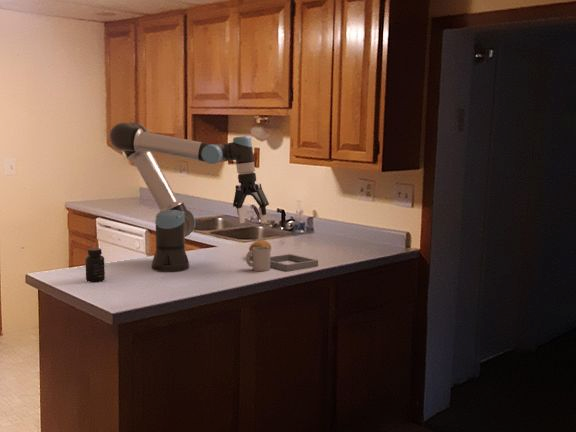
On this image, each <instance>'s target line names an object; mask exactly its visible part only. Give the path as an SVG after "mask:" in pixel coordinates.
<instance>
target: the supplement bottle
mask: <svg viewBox="0 0 576 432" xmlns="http://www.w3.org/2000/svg"><path fill="white" fill-rule="evenodd" d="M102 253H103V252H102V248H99V247H93V248H88V250H87V256H86V257H85V280H87V281H86V282H88V281H90V282H89V283H100V282H99V281H101V282H103V280H104V281H105V280H106V276H105V275H106V273H105V257H104V256H103V254H102Z"/></svg>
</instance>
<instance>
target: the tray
mask: <svg viewBox="0 0 576 432" xmlns="http://www.w3.org/2000/svg"><path fill="white" fill-rule="evenodd" d="M286 261H290V262H291V261H292V262H293V263H289V264H286V263H283V262H286ZM294 262H295V263H294ZM318 266H319V259H315V258H310V257H305V256H301V255H296V254H292V253H288V254H287V253H286V254H281V255H280V254H279V255H274V256H270V269H276V270H281V271H284V272H291V271H296V270H301V269H302V270H303V269H308V268H314V267H318Z"/></svg>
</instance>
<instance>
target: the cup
mask: <svg viewBox="0 0 576 432" xmlns="http://www.w3.org/2000/svg"><path fill="white" fill-rule="evenodd" d="M252 254H253V255H252ZM251 256H252V262H251ZM270 257H271V251H270V248H269V247H254V248H253V251H249V250H248V252H247V253H246V256H245V262H246V264H247V266H249V267H252V270H253V271H255V272H268V271H270V270H271V267H270Z"/></svg>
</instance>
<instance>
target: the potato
mask: <svg viewBox="0 0 576 432" xmlns="http://www.w3.org/2000/svg"><path fill="white" fill-rule="evenodd" d="M254 247H269V248H270V252H271V251H272V245H271V243H269V242H268V241H267V240H265V239H260V240H259V239H258V240H257V241H255V242H253V243H251V244H250V246H249V248H248V249H249V250H248V252H249V251H253V248H254ZM251 256H253V254H251Z"/></svg>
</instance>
